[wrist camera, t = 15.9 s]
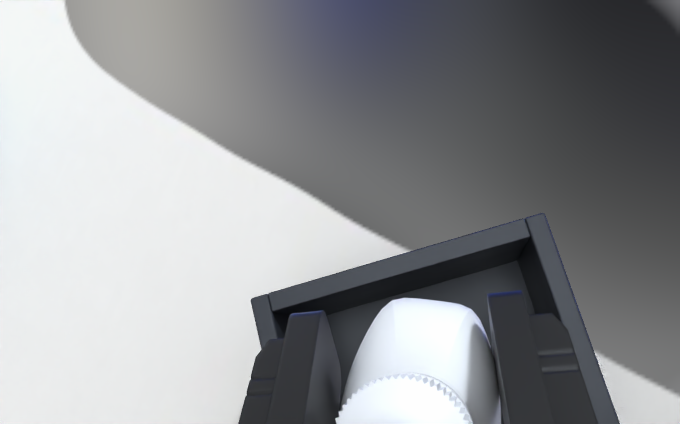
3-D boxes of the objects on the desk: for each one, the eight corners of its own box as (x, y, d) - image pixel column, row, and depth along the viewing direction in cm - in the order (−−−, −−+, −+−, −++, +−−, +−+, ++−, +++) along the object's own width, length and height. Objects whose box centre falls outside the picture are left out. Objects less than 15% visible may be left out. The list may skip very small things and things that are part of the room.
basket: (352, 533, 28) (315, 592, 21) (297, 310, 30) (249, 298, 23) (604, 473, 26) (652, 515, 19) (525, 244, 29) (544, 211, 22)
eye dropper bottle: (545, 374, 20) (642, 398, 9) (443, 524, 20) (401, 758, 8) (430, 293, 21) (380, 220, 10) (332, 433, 21) (161, 525, 10)
